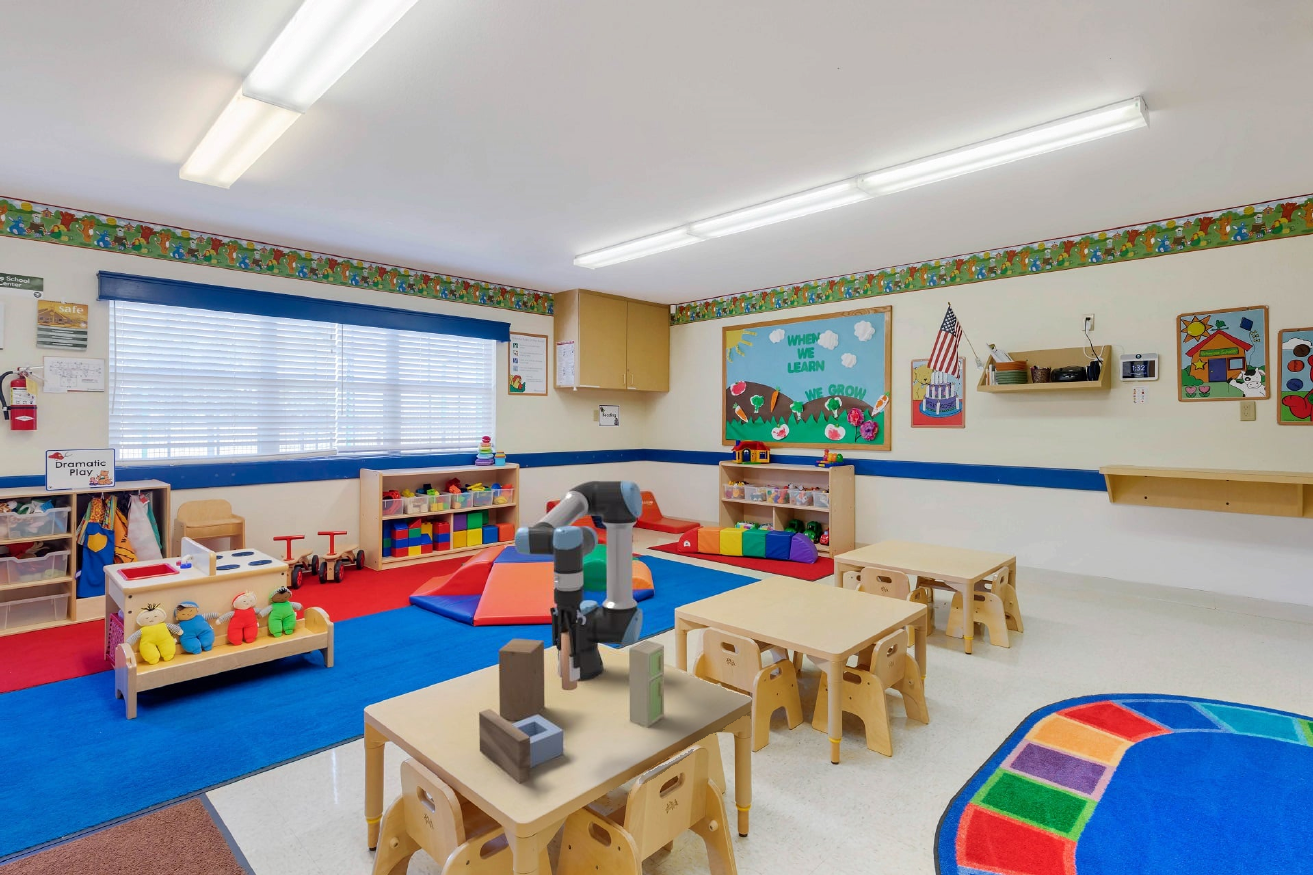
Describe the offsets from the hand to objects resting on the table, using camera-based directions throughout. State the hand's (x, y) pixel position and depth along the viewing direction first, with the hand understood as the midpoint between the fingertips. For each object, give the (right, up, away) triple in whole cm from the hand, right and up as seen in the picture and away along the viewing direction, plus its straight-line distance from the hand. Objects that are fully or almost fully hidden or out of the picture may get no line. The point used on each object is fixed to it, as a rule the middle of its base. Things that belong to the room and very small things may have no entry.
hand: (569, 676), depth 163 cm
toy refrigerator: (+20, -18, +16) cm, 32 cm away
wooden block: (-16, -19, +20) cm, 32 cm away
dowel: (0, -3, 0) cm, 3 cm away
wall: (-15, -19, -7) cm, 25 cm away
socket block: (-10, -19, -2) cm, 21 cm away
